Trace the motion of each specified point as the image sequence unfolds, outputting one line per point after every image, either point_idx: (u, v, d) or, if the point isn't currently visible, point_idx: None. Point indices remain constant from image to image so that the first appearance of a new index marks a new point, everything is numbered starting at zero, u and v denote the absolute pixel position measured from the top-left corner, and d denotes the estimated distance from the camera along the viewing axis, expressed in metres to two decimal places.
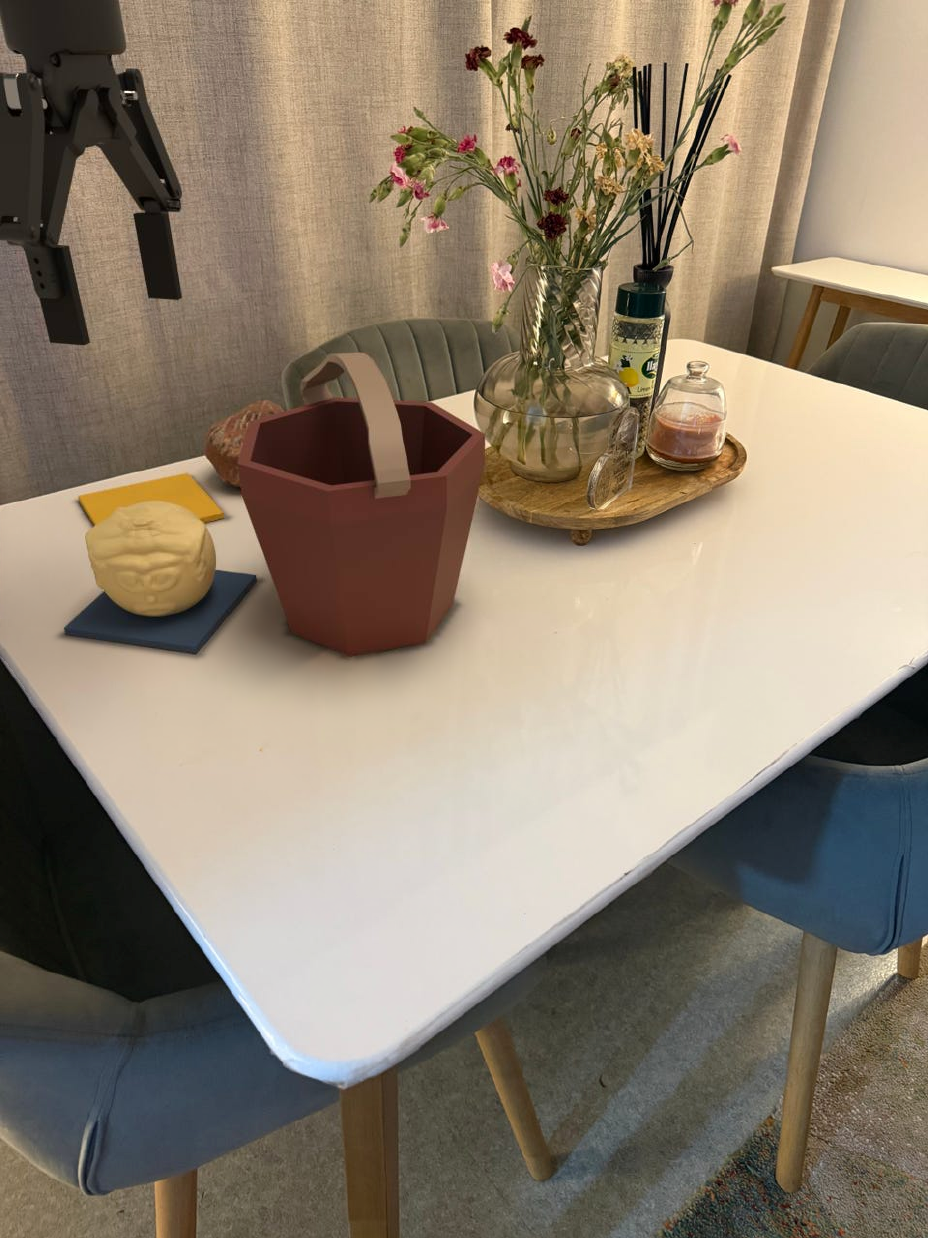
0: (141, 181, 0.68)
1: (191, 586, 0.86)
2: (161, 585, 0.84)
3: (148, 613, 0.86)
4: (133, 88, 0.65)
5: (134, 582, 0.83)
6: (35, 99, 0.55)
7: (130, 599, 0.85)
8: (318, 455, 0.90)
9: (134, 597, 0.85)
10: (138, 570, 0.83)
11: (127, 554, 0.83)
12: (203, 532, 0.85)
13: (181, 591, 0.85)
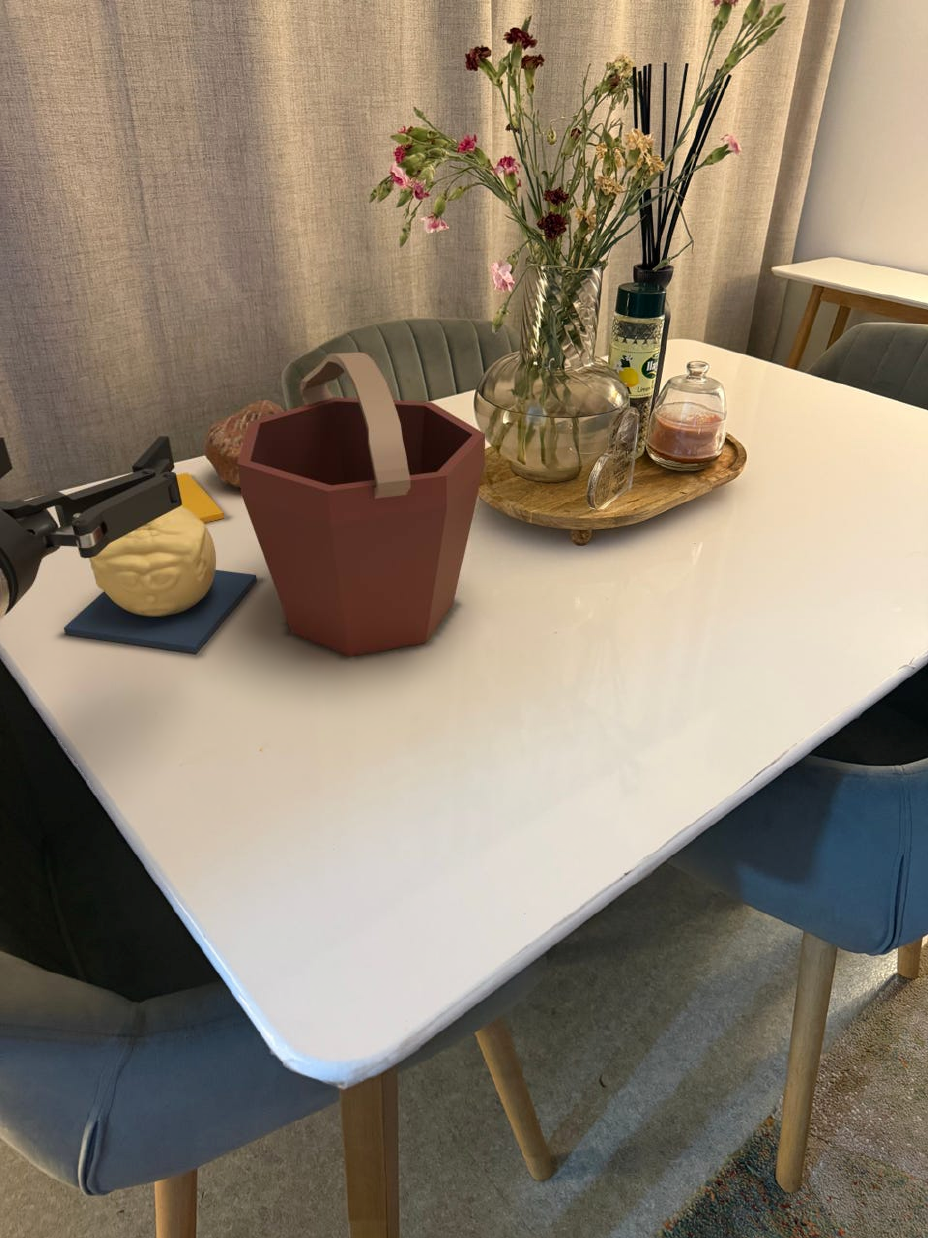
0: None
1: (191, 586, 0.86)
2: (161, 585, 0.84)
3: (148, 613, 0.86)
4: None
5: (134, 582, 0.83)
6: None
7: (130, 599, 0.85)
8: (318, 455, 0.90)
9: (134, 597, 0.85)
10: (138, 570, 0.83)
11: (127, 554, 0.83)
12: (203, 532, 0.85)
13: (181, 591, 0.85)
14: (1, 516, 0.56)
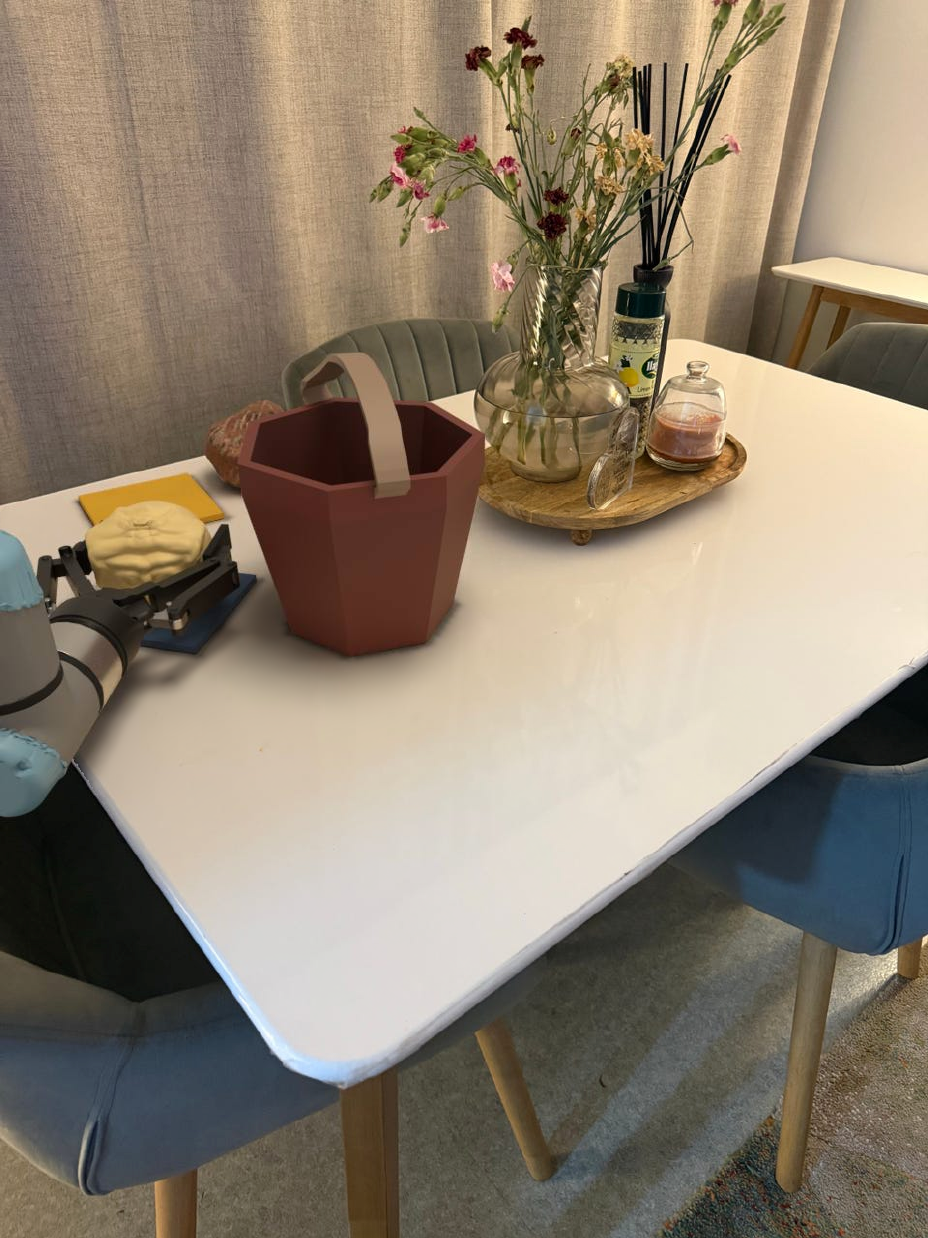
0: None
1: None
2: None
3: None
4: None
5: (133, 582, 0.83)
6: None
7: None
8: (318, 455, 0.90)
9: None
10: (138, 570, 0.83)
11: (127, 554, 0.83)
12: (203, 532, 0.85)
13: None
14: (116, 610, 0.74)
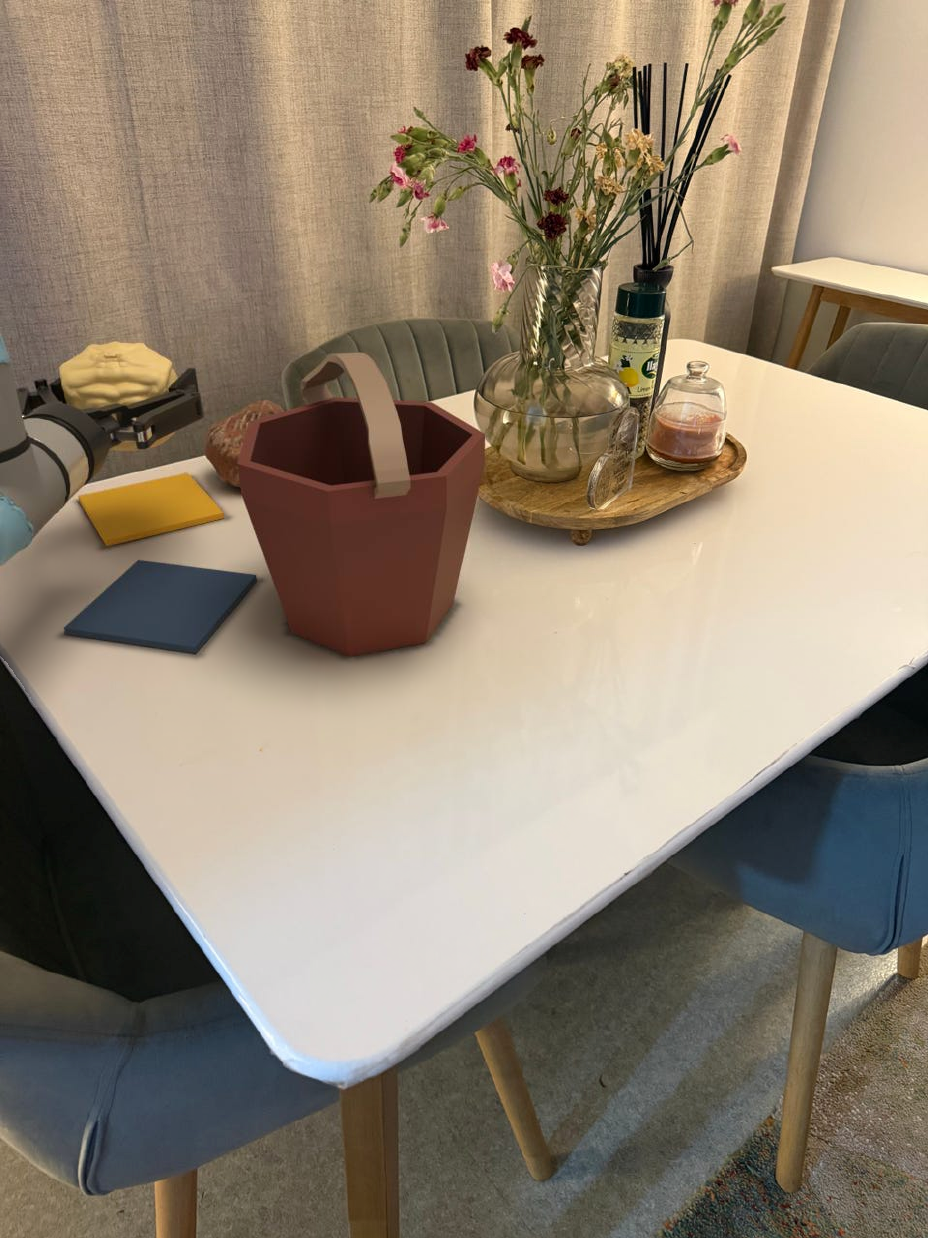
0: None
1: None
2: None
3: (118, 445, 0.92)
4: None
5: None
6: None
7: None
8: (318, 455, 0.90)
9: None
10: (108, 398, 0.89)
11: (97, 384, 0.89)
12: (169, 367, 0.91)
13: None
14: (83, 415, 0.80)
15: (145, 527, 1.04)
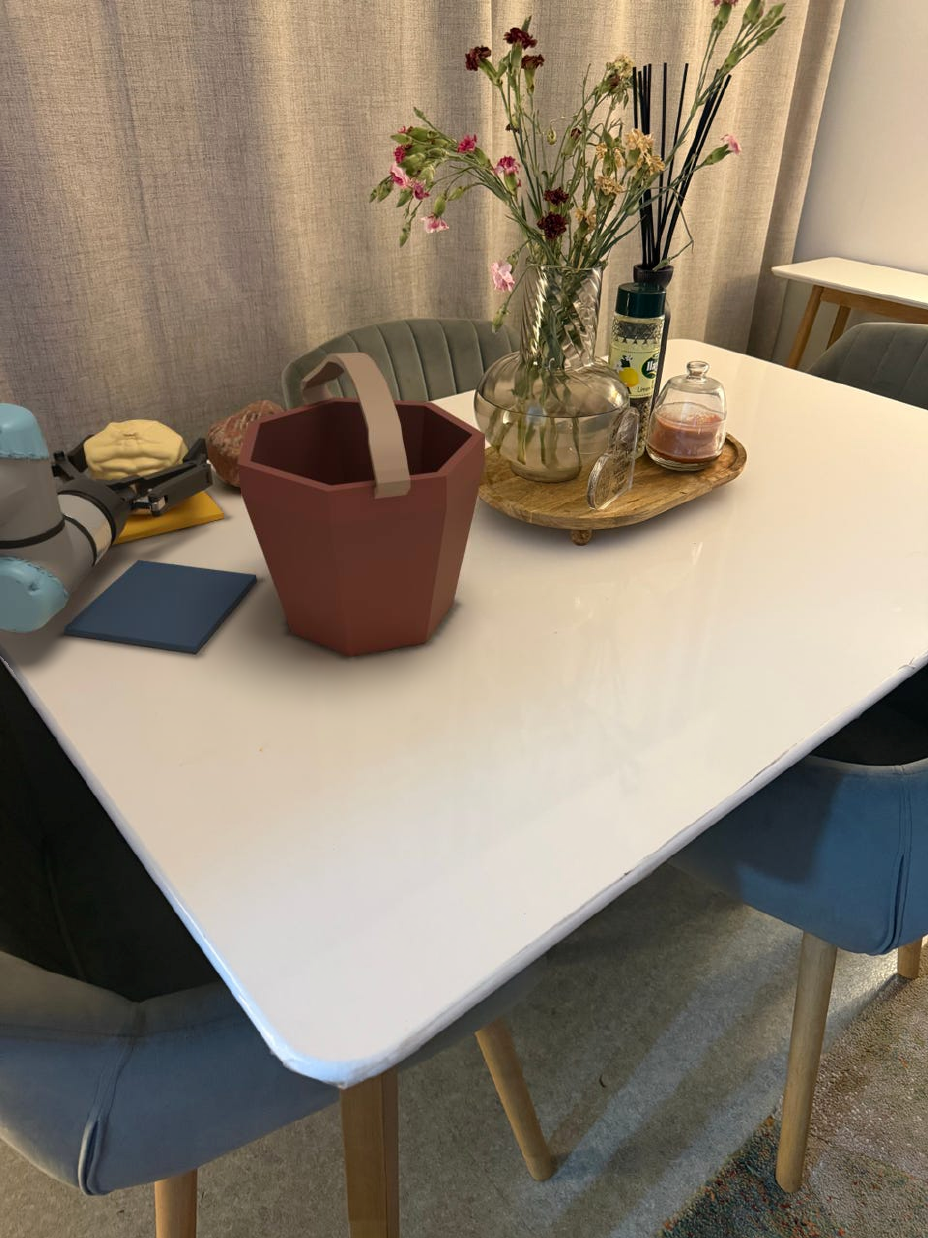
0: None
1: None
2: None
3: None
4: None
5: None
6: None
7: None
8: (318, 455, 0.90)
9: None
10: (127, 471, 1.01)
11: (118, 459, 1.02)
12: (180, 442, 1.04)
13: None
14: (106, 489, 0.92)
15: (145, 527, 1.04)
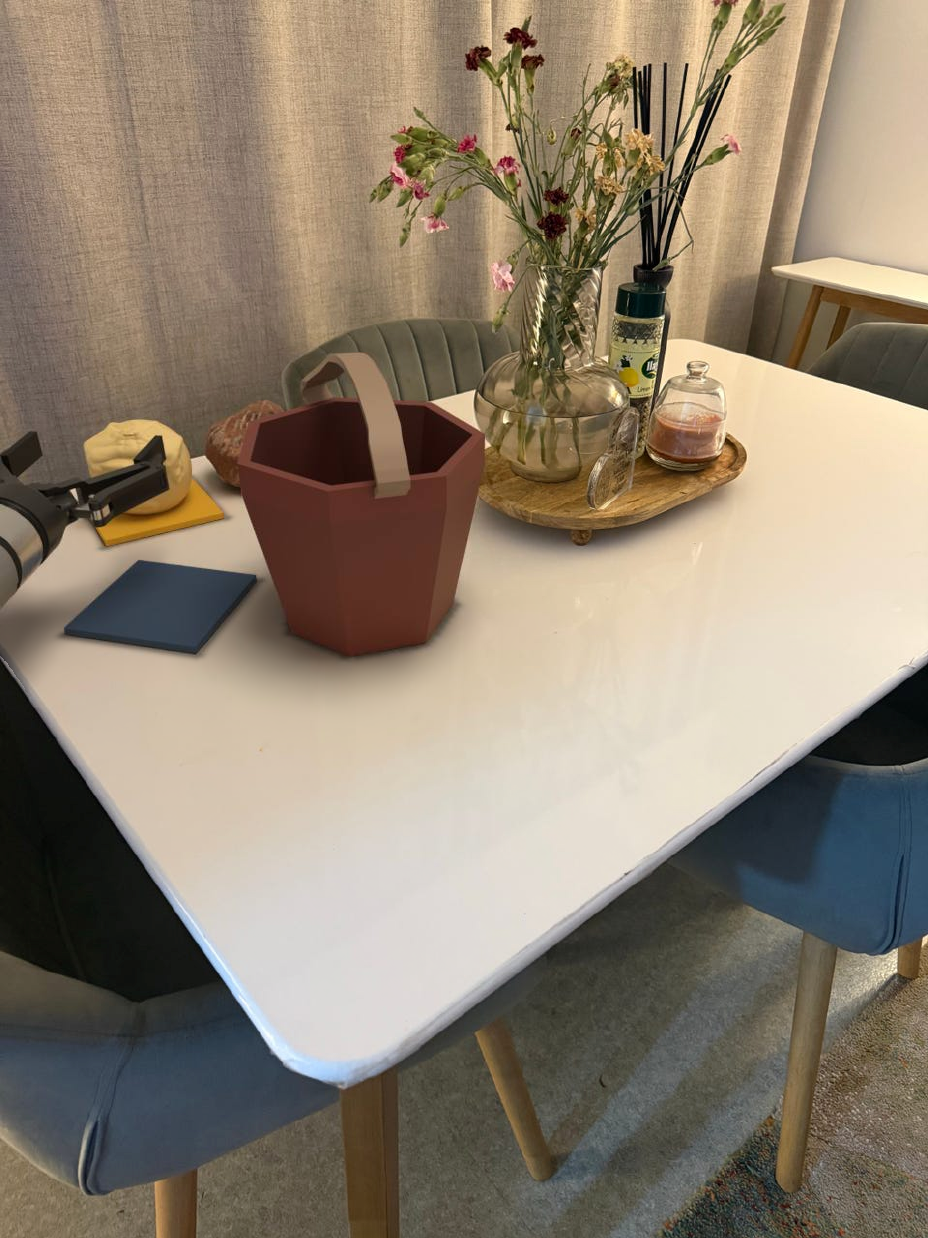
0: None
1: (171, 487, 1.04)
2: None
3: (135, 510, 1.05)
4: None
5: None
6: None
7: None
8: (318, 455, 0.90)
9: None
10: None
11: (118, 459, 1.02)
12: (180, 442, 1.04)
13: None
14: (38, 495, 0.78)
15: (145, 527, 1.04)
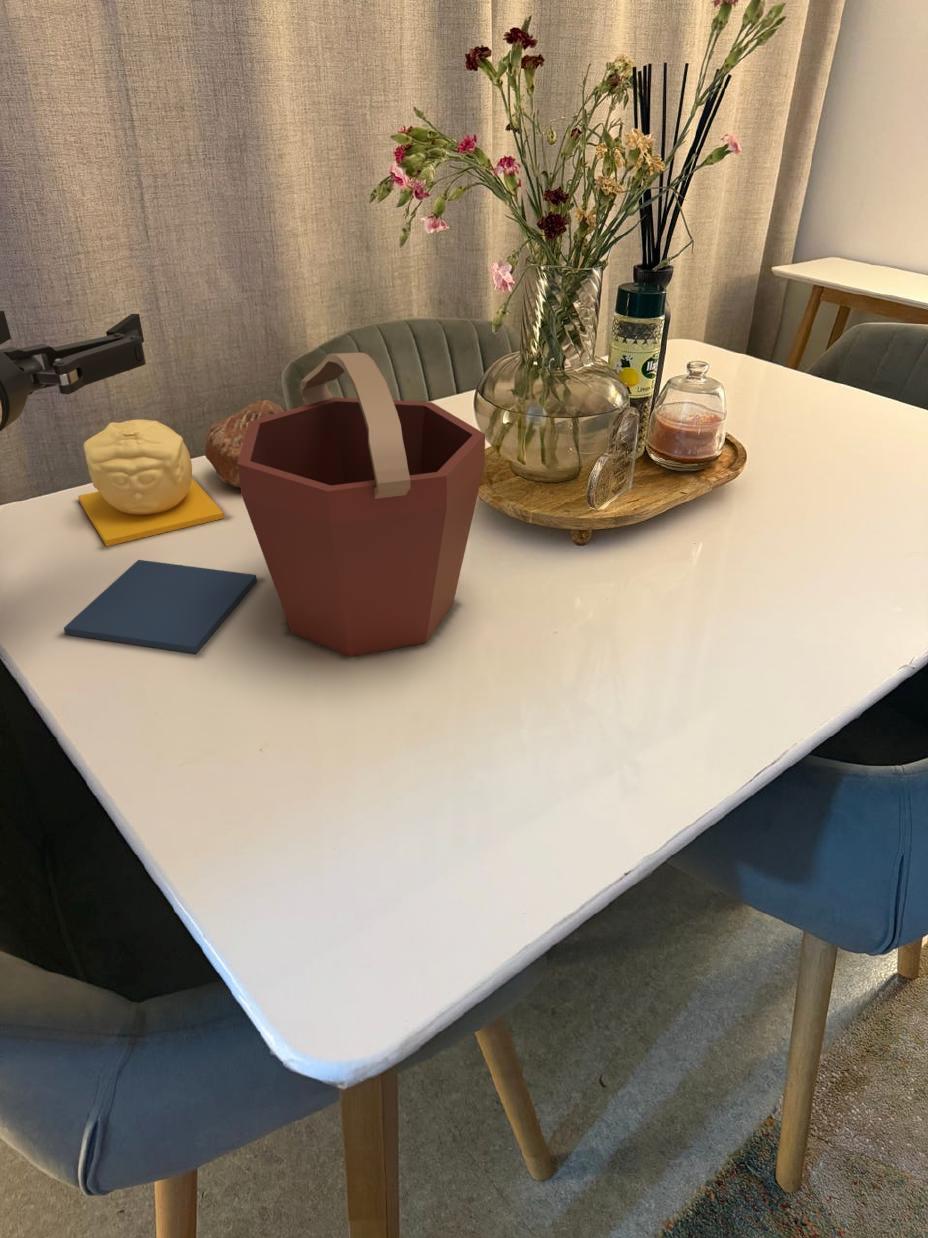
0: None
1: (171, 487, 1.04)
2: (146, 484, 1.03)
3: (135, 510, 1.05)
4: None
5: (123, 482, 1.02)
6: None
7: (121, 497, 1.03)
8: (318, 455, 0.90)
9: (123, 496, 1.03)
10: (127, 471, 1.01)
11: (118, 459, 1.02)
12: (180, 442, 1.04)
13: (162, 492, 1.04)
14: None
15: (145, 527, 1.04)
